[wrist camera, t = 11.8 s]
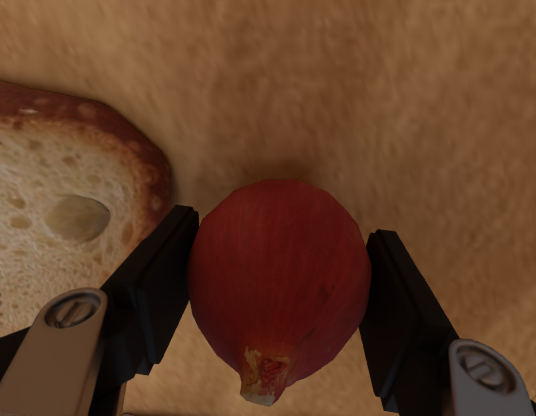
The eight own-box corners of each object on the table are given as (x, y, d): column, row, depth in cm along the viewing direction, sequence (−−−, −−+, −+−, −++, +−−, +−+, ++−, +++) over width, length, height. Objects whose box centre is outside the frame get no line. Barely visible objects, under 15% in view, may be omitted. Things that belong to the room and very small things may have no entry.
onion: (363, 248, 13) (445, 470, 6) (252, 278, 14) (208, 486, 7) (324, 130, 11) (380, 256, 4) (197, 180, 12) (57, 340, 5)
